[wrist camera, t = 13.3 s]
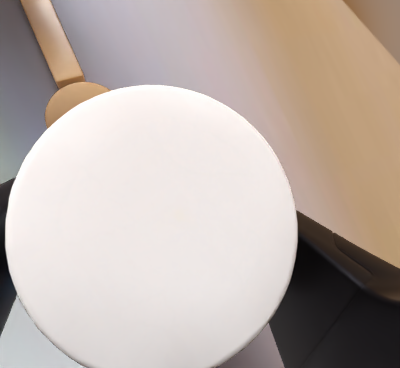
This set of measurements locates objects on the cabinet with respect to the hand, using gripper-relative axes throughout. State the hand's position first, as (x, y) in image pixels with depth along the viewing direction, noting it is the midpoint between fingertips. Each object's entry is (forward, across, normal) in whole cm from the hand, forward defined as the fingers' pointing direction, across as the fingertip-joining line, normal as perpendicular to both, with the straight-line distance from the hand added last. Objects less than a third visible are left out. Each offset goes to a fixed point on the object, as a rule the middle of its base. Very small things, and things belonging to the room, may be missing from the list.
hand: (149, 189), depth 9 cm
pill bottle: (+4, 0, +6) cm, 7 cm away
